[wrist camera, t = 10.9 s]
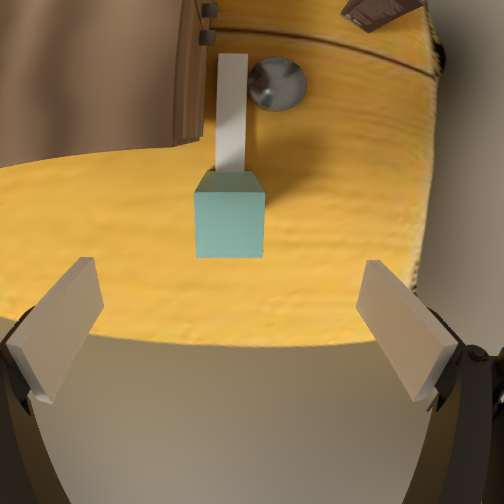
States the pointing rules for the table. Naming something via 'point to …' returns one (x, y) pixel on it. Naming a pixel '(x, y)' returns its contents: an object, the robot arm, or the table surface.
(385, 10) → the box
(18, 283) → the table surface
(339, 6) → the table surface
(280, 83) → the disc
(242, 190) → the tool
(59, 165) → the table surface
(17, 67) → the wooden cabinet
